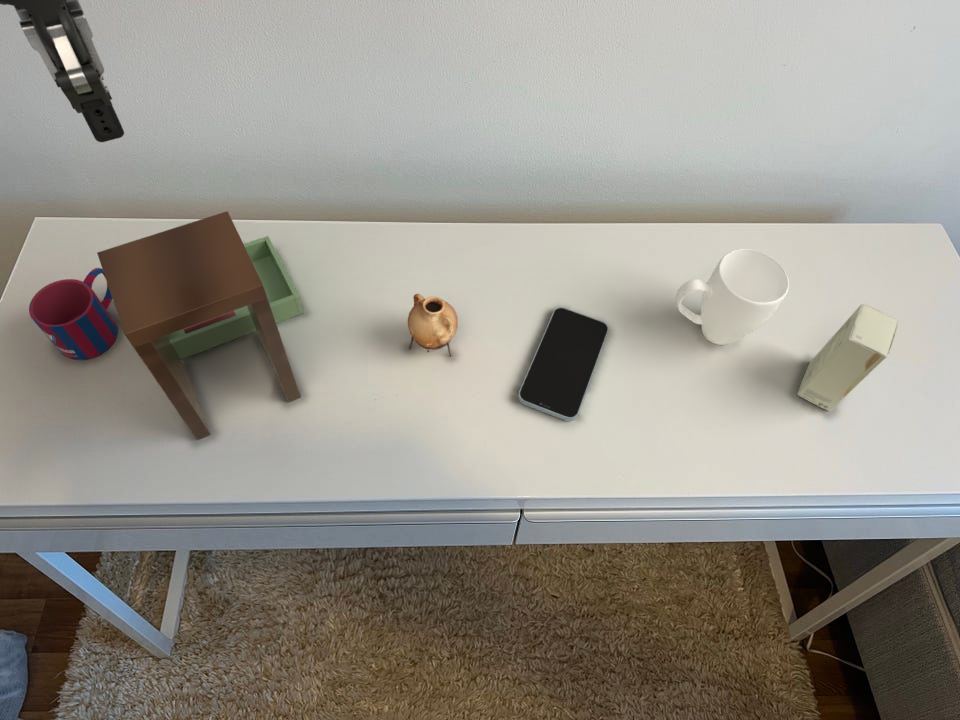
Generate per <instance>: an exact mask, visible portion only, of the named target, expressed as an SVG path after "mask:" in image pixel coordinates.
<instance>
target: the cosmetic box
mask: <svg viewBox="0 0 960 720" xmlns="http://www.w3.org/2000/svg"><path fill="white" fill-rule="evenodd" d="M899 322H900V321H899V319H898V318H895V317H893V316H891V315H889V314H887V313H885V312H883V311H881V310H879V309H877V308H875V307H873V306H870V305H869V304H866V303H864V302H862V303H860V305H859V306H858V307H857V308H856V310H855V311H854V312H852V314H851V315H850V316H849V317H848V319H847V320H846V321H845V322H843V324H842V325H841V326H840V328H839V329H837V331H836V332H835V333H834V334H833V336H831V338H830V339H829V340H828V341H827V342H826V343H825V345H823V346H822V348H821V349H820V350H819V351H818V352H817V353H816V355H815V356H814V357H813V358H812V359H811V360H810V362H809V364H808V366H807V368H806V370H805V373H804V375H803V378H802V380H801V383H800V384H799V388H798V391H797V396H798V397H800V398H802V399H803V400H806V401H808V402H810V403H811V404H813V405H815V406H817V407H818V408H821V409H823V410H825V411H828V412H831V411H832V410H833V409H834V408H836V406H837V405H838V404H839V403H840V402H841V401H842V400H843V399H844V398H845V397H846V396H848V395H849V394H850V393H851V392H852V391H853V390H854V389H855V388H856V387H857V386H858V385H859V384H860V383H861V382H862V381H863V380H864V379H865V378H866V377H868V376H869V374H870V373H871V372H873V371H874V370H875V369H876V368H877V367H878V366H879V365H880V364H881V363H882V362H883V361H884V360H886V358H887V357H888V356H889V354H890V351H891V349H892V346H893V343H894V340H895V338H896V337H895V336H896V333H897V330H898V325H899Z"/></svg>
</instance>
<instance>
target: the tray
mask: <svg viewBox="0 0 960 720" xmlns="http://www.w3.org/2000/svg"><path fill="white" fill-rule="evenodd" d="M243 244H244V246H245V248H246V250H247V252H248V254H249V257H250V259H251V261H252V263H253V265H254V267H255V269H256V271H257V273H258V275H259V277H260V280H261V282H262V284H263V286H264V289H265V292H266V295H267V298H268V301H269V304H270V307H271V310H272V313H273V316H274V319H275V322H276V324H279V323H282V322H284V321H287V320H289V319H291V318H295V317H297V316H299V315H302V314H304V309H303V306H302V302H301V298H300V295H299V293H298V291H297V289H296V288H295V285H294V283H293V282H292V279H291V277H290V276H289V273H288V272H287V269H286V268H285V265H284V264H283V262H282V260H281V257H280V256H279V253H278V251H277V250H276V248H275V246H274V244H273V242H272V240H271V238H270V236H269V235H266V236H264V237H263V236H262V237H260V238H257V239H256V240H255V239H254V240H251V241H247V242H245V243H243ZM234 311H235V313H236V316H233V317H231V318H228V319H225V320H222V321H220V322H217V323H214V324H211V325H209V326H206V327H203V328H201V329H198V330H195V331H192V332H190V333H187V334H185V332H184V330H183V329H182V330H179V331H176V332H173V333H171V334H168V335H166V336H167V337H168V339H169V341H170V342H171V344H172V346H173V347H174V349H175V351H176V352H177V354H178V356H179V357H180V359H181V360H183V359H186V358H188V357H189V358H190V357H192V356H194V355H197V354H199V353H202V352H205V351H207V350H210V349H212V348H216V347H218V346H221V345H223V344H225V343H228V342H231V341H234V340H236V339H239V338H241V337H244V336H247V335H250V334H252V333H255V332H257V331H256V328H255V325H254V323H253V320H252V318H251V315H250V312H249V310H248V307H247V306H245V307H242V308H239V309H237V310H234Z"/></svg>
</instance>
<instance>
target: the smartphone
mask: <svg viewBox="0 0 960 720" xmlns="http://www.w3.org/2000/svg"><path fill="white" fill-rule="evenodd" d="M609 329H610V328H609V325H608V323H606V322H605V321H602V320H600V319H597V318H594V317H592V316H589V315H586V314H583V313H581V312H578V311H575V310H572V309H570V308H567V307H564V306H563V307H562V306H560V307H556V308H555V309H554V310H553V311H552V314H551V316H550V318H549V321H548V323H547V326H546V328H545V329H544V332H543V334H542V338H541V339H540V342H539V344H538V347H537V349H536V351H535V353H534V355H533V358H532V360H531V362H530V365H529V368H528V369H527V372H526V374H525V377H524V379H523V381H522V384H521V386H520V388H519V391H518V396H517V397H518V401H519V402H520V403H521V404H522V405H524V406H526V407H529V408H532V409H534V410H537V411H539V412H542V413H545V414H547V415H550V416H553V417H555V418H557V419H559V420H562V421H565V422H572V421H574V420H576V418H577V417H578V416H579V413H580V410H581V407H582V406H583V403H584V400H585V398H586V394H587V392H588V389H589V386H590V383H591V380H592V377H593V375H594V372H595V369H596V366H597V363H598V361H599V358H600V355H601V353H602V350H603V347H604V344H605V341H606V339H607V336H608V333H609Z"/></svg>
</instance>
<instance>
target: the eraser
mask: <svg viewBox="0 0 960 720" xmlns="http://www.w3.org/2000/svg"><path fill="white" fill-rule="evenodd" d="M233 316H236V313H235V311H231V312H228V313H226V314H223V315H220V316H217V317H215V318H212V319H209V320H206V321H204V322H201V323H198V324H195V325H193V326H190V327H187V328H184V329H183V330H184V332H185V334H187V333H190V332H192V331H195V330H198V329H201V328H203V327H206V326H209V325H211V324H214V323H217V322H220V321H222V320H225V319H228V318H231V317H233Z"/></svg>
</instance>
